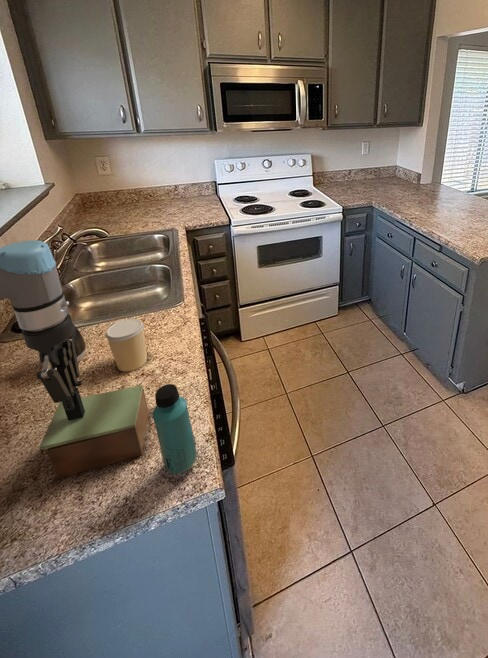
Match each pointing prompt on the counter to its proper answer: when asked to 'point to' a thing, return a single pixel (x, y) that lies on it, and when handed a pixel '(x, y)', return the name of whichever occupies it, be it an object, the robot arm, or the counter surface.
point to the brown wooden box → (101, 448)
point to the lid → (95, 417)
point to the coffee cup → (127, 344)
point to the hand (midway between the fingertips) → (76, 415)
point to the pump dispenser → (79, 344)
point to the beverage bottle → (174, 430)
